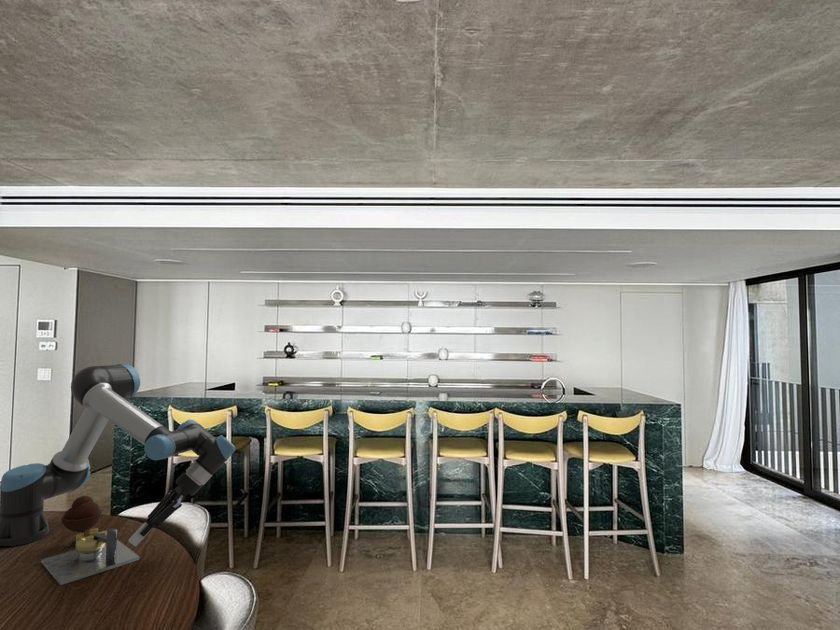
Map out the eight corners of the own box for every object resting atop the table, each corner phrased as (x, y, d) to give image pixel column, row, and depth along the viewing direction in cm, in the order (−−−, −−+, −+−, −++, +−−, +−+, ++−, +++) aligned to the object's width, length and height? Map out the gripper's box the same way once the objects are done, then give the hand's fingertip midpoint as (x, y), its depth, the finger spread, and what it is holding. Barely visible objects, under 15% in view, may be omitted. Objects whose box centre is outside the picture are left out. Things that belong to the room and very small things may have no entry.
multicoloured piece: (68, 559, 144) (70, 527, 145) (96, 549, 151) (97, 518, 152) (99, 570, 138) (101, 536, 138) (126, 558, 145) (128, 526, 146)
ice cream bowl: (51, 548, 154) (54, 501, 155) (83, 534, 165) (85, 490, 166) (78, 552, 152) (80, 504, 152) (108, 538, 163) (110, 493, 163)
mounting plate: (41, 562, 145) (42, 549, 145) (115, 541, 160) (116, 529, 160) (60, 585, 132) (61, 570, 132) (139, 559, 147) (139, 546, 148)
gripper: (181, 467, 160) (120, 529, 149) (188, 476, 149) (123, 544, 139) (197, 480, 163) (139, 542, 152) (206, 491, 152) (143, 558, 142)
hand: (131, 543), depth 145 cm, fingers closed
